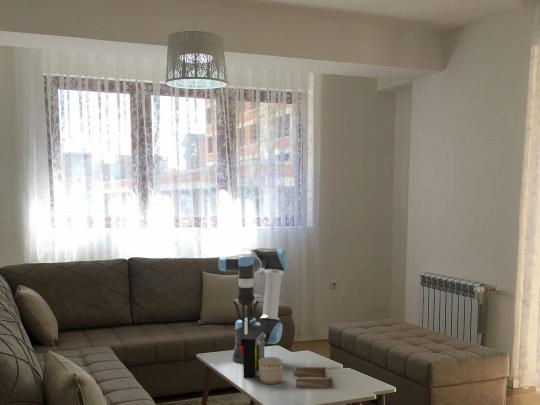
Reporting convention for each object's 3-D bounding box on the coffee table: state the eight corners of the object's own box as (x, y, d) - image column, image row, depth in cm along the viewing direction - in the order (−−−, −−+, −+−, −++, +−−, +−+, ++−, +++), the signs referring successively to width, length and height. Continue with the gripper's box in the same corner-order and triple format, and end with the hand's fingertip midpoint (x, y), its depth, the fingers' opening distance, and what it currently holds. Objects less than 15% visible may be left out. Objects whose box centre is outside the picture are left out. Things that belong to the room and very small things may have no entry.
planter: (258, 377, 279) (258, 356, 279) (282, 376, 280) (282, 356, 279) (258, 385, 266) (258, 364, 266) (284, 385, 267) (284, 364, 267)
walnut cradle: (293, 375, 282) (293, 367, 282) (326, 374, 283) (326, 367, 283) (295, 387, 264) (295, 379, 264) (331, 387, 264) (331, 378, 264)
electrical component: (259, 379, 276) (259, 339, 276) (239, 377, 278) (239, 338, 278) (266, 368, 293) (266, 331, 293) (248, 367, 295) (248, 330, 295)
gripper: (232, 287, 268) (232, 335, 268) (259, 287, 268) (259, 335, 268) (233, 285, 275) (233, 331, 275) (259, 285, 275) (259, 331, 275)
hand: (246, 333), depth 272 cm, fingers closed
